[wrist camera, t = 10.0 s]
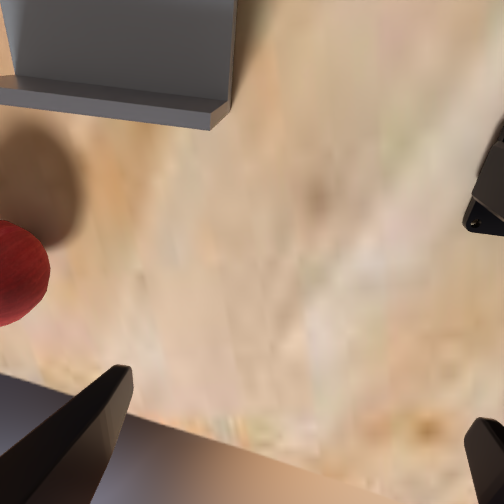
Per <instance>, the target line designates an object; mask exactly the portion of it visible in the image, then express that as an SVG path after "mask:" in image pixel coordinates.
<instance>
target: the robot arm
mask: <svg viewBox="0 0 504 504" xmlns="http://www.w3.org/2000/svg"><path fill="white" fill-rule="evenodd" d="M472 196H473V197H472V200H471V202H470V204H469V207H468V209H467V211H466V213H465V216H464V218H463V222H462V223H463V226H464V227H465V228H466V229H467V230H468V231H470V232H474V233H482V234H489V235H497V236H504V126H503V129H502V131H501V133H500V136H499V138H498V140H497V143H495V144H494V145H493V146H492V147H491V149H490V152H489V154H488V156H487V159H486V161H485V163H484V166H483V168H482V170H481V172H480V175H479V177H478V179H477V182H476V184H475V186H474V189H473V191H472ZM475 219H478V221H477V222H476V223H475V224H474V225H471V222H472V221H473V220H475ZM133 388H134V387H133V376H132V369H131V367H130V366H126V365H119V364H118V365H114V366H112V367H111V368H110V369H109V370H107V371H106V372H105V373H104V374H102V375H101V376H100V377H99V378H97V379H96V380H95V381H94V382H92V383H91V384H90V385H89V386H87V387H86V388H85V389H84V390H82V391H81V392H80V393H79V394H77V395H76V396H75V397H74V398H72V399H71V400H70V401H69V402H68V403H66V404H65V405H64V406H62V407H61V408H60V409H59V410H57V411H56V412H55V413H54V414H52V415H51V416H50V417H49V418H47V419H46V420H45V421H44V422H43V423H41V424H40V425H39V426H38V427H36V428H35V429H34V430H32V431H31V432H30V433H29V434H27V435H26V436H25V437H24V438H22V439H21V440H20V441H19V442H17V443H16V444H15V445H14V446H12V447H11V448H10V449H9V450H7V451H6V452H5V453H4V454H2V455H1V456H0V504H90V503H91V500H92V498H93V496H94V494H95V492H96V489H97V487H98V485H99V483H100V481H101V478H102V476H103V474H104V471H105V470H106V468H107V465H108V463H109V461H110V458H111V456H112V453H113V450H114V448H115V445H116V442H117V439H118V436H119V433H120V430H121V427H122V424H123V421H124V419H125V416H126V413H127V410H128V407H129V404H130V401H131V398H132V394H133ZM464 446H465V451H466V455H467V459H468V463H469V467H470V471H471V475H472V479H473V483H474V487H475V491H476V495H477V499H478V503H479V504H504V426H503V425H502V424H500V423H499V422H498V421H496V420H494V419H490V418H483V417H479V418H477V419H476V420H475V421H474V422H473V424H472V425H471V427H470V428H469V430H468V432H467V433H466V435H465V437H464Z"/></svg>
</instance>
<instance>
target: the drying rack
mask: <svg viewBox="0 0 504 504" xmlns="http://www.w3.org/2000/svg"><path fill="white" fill-rule="evenodd" d="M0 3H1V8H2V13H3V18H4V22H5V27H6V32H7V37H8V42H9V47H10V51H11V56H12V61H13V66H14V71H15V75H8V76H0V104H1V105H9V106H17V107H25V108H33V109H41V110H49V111H57V112H65V113H73V114H81V115H89V116H97V117H105V118H113V119H120V120H128V121H136V122H144V123H152V124H160V125H168V126H176V127H184V128H192V129H200V130H208V131H210V130H211V129H212V128H213V127H214V126H216V125H217V124H218V123H219V122H220V121H221V120H222V119H223V118H224V117H225V116H226V115H227V114H228V113H229V112H230V104H231V90H232V75H233V60H234V45H235V30H236V15H237V0H0Z"/></svg>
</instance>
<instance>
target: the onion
mask: <svg viewBox="0 0 504 504" xmlns="http://www.w3.org/2000/svg"><path fill="white" fill-rule="evenodd" d="M49 277H50V264H49V259H48V255H47V252H46V251H45V249H44V247H43V246H42V244H41V242H40V241H39V240H38V239H37V238H36V237H35V236H34V235H32V234H31V233H30V232H29V231H27V230H25V229H23V228H21V227H19V226H17V225H15V224H12V223H10V222H8V221H5V220H0V327H1V326H5V325H8V324H10V323H13V322H15V321H17V320H19V319H21V318H22V317H23V316H25V315H26V314H27V313H28V312H30V311H31V310H32V309H33V308H34V307H35V306H36V305H37V304H38V303H39V302H40V301H41V300H42V298H43V296H44V294H45V293H46V291H47V287H48V282H49Z"/></svg>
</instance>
